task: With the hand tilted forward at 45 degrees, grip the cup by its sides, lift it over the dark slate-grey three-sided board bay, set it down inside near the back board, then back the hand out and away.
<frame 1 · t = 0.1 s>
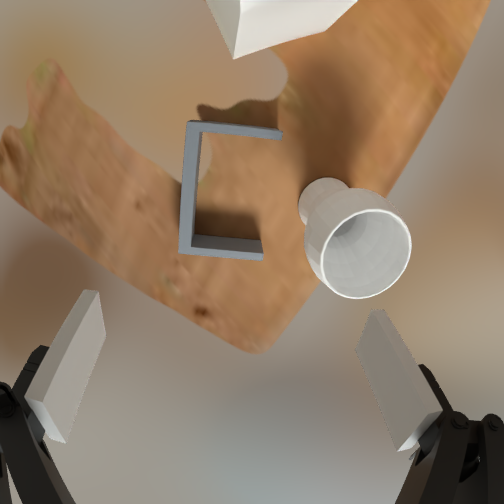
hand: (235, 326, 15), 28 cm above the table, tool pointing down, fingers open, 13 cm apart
cup: (325, 204, 42), on the table
milk: (262, 5, 30), on the table
board bay: (221, 185, 40), on the table
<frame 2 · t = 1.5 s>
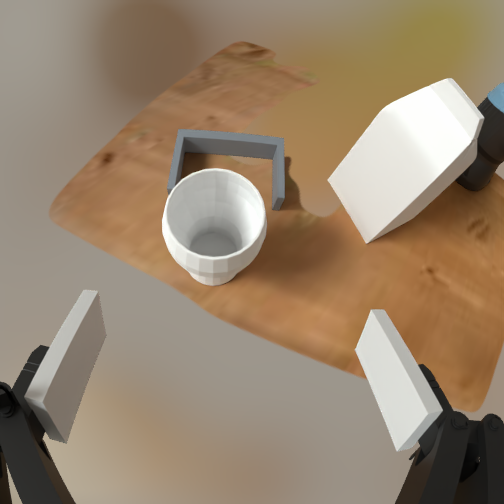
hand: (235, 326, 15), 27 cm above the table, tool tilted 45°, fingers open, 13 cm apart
cup: (213, 258, 44), on the table
milk: (372, 199, 51), on the table
board bay: (227, 170, 48), on the table
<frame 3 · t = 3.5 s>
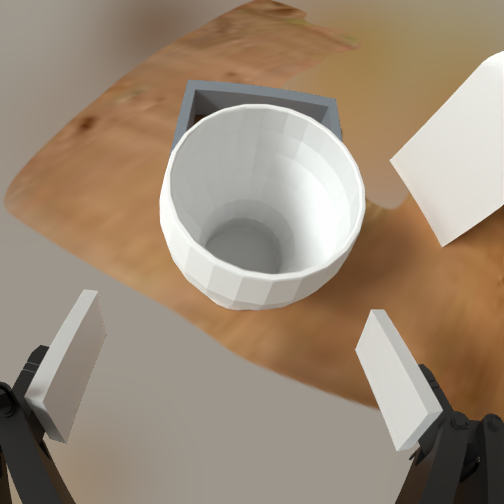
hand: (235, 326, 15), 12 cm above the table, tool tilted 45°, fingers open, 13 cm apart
cup: (239, 267, 29), on the table
milk: (442, 189, 35), on the table
board bay: (257, 140, 33), on the table
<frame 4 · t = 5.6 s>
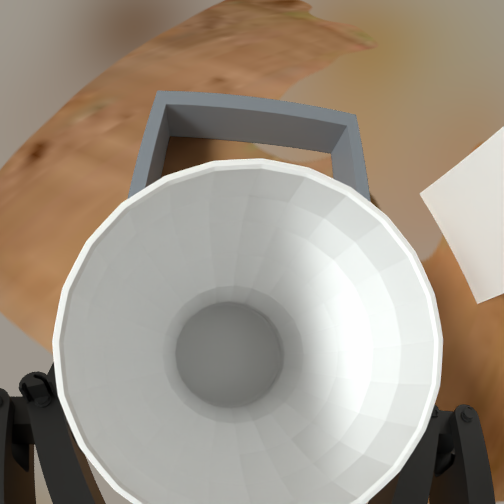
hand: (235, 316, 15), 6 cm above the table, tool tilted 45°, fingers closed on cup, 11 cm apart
cup: (226, 355, 21), on the table, touching gripper
milk: (477, 228, 27), on the table
board bay: (250, 171, 25), on the table
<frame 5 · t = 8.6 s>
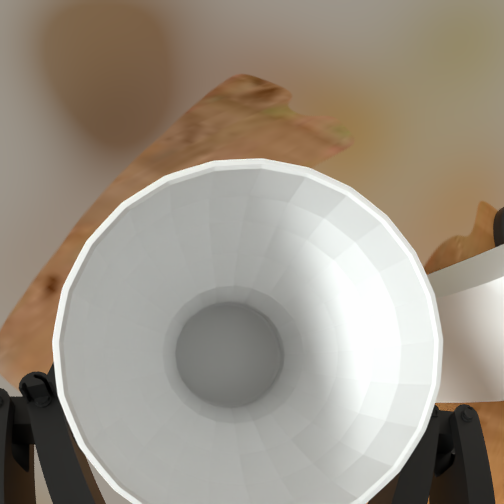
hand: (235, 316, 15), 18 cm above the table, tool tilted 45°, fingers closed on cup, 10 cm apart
cup: (226, 355, 21), point 11 cm above the table, touching gripper
milk: (419, 336, 35), on the table
when the fingers open (8 cm above the table, at t = 11.4 s): cup drops 1 cm, on the table.
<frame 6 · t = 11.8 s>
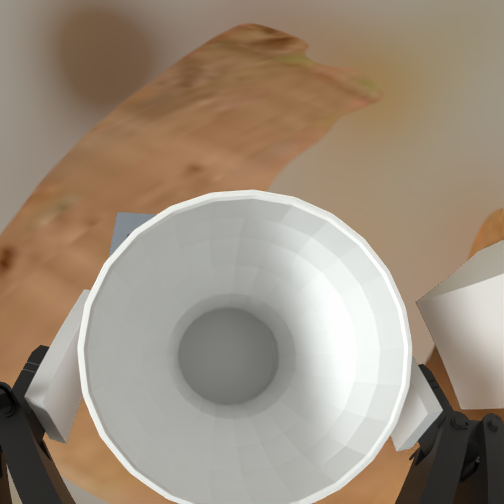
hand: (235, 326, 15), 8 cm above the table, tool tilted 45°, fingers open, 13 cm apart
cup: (225, 356, 22), on the table
milk: (474, 326, 25), on the table
board bay: (228, 300, 23), on the table
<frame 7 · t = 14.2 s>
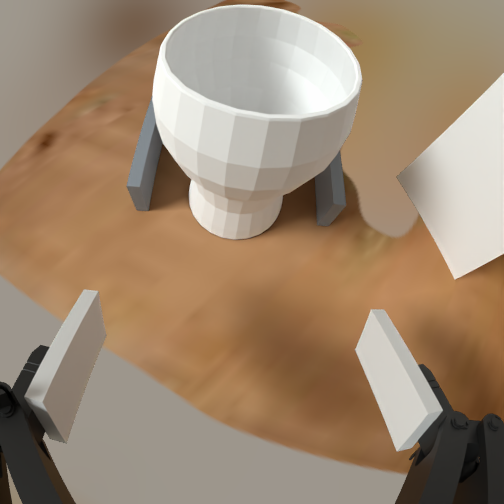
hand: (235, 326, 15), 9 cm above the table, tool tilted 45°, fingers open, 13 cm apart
cup: (235, 197, 27), on the table
milk: (455, 209, 30), on the table
board bay: (237, 156, 28), on the table
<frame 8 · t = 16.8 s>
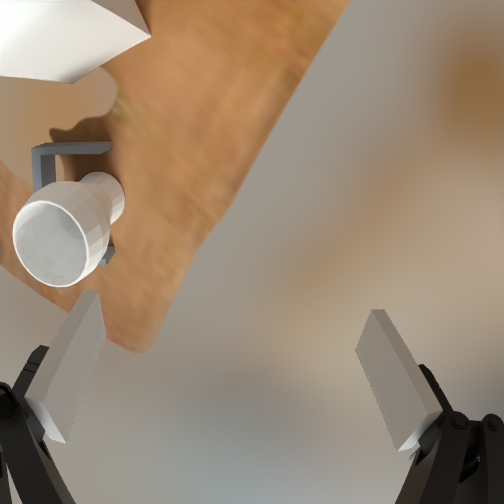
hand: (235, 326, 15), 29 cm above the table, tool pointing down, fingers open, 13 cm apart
cup: (100, 198, 40), on the table
milk: (95, 26, 30), on the table
board bay: (74, 197, 40), on the table
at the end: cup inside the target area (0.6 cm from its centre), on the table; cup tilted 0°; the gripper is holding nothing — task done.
